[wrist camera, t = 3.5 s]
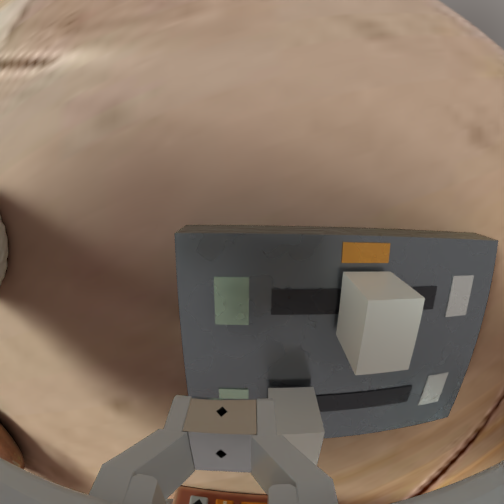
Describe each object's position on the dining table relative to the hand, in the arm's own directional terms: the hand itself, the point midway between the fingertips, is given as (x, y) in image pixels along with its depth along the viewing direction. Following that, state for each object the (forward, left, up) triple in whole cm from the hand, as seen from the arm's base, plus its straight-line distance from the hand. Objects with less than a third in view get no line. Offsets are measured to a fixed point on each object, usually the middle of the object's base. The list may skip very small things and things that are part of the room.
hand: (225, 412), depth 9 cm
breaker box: (-7, +4, -13) cm, 15 cm away
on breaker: (-3, +8, -9) cm, 13 cm away
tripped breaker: (-7, 0, -9) cm, 12 cm away
